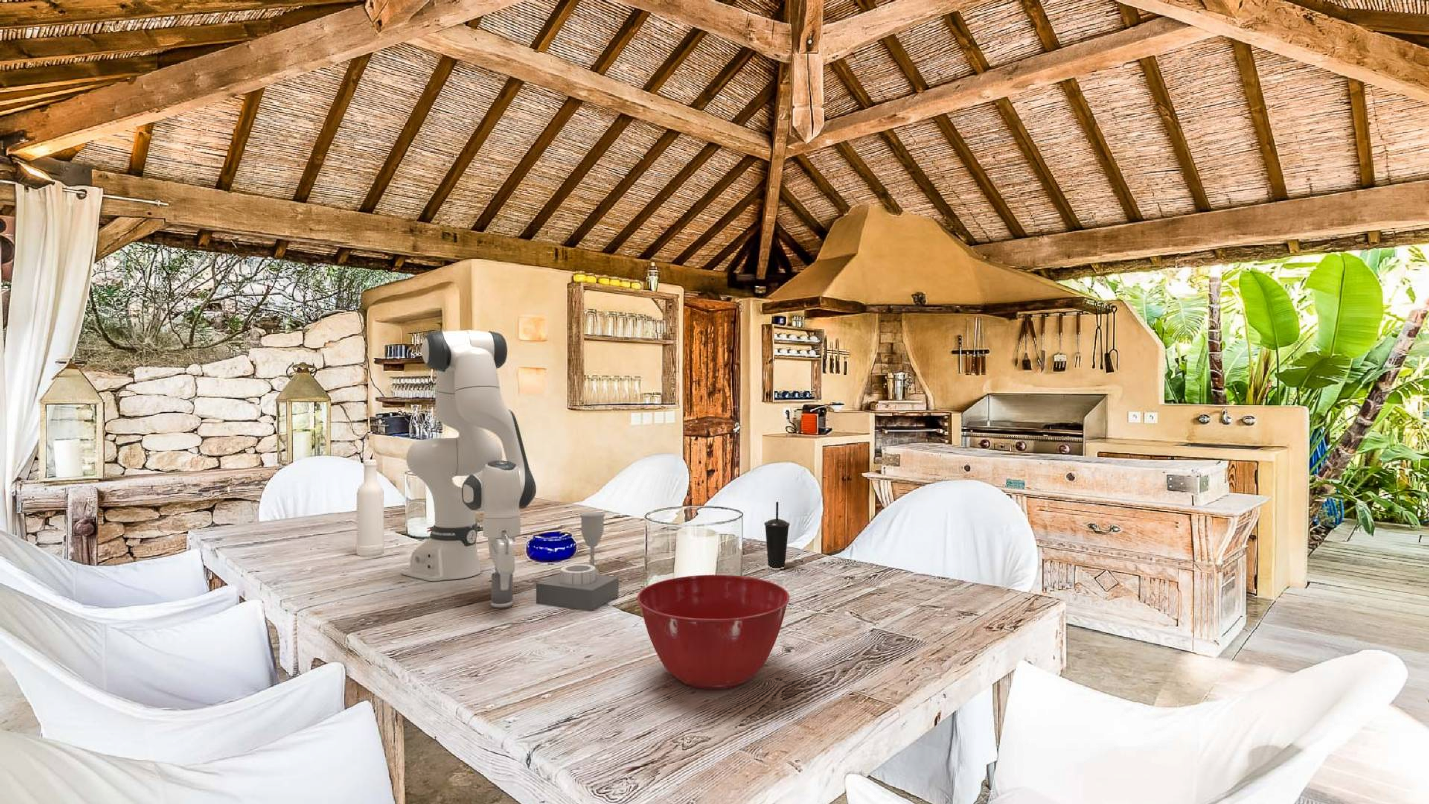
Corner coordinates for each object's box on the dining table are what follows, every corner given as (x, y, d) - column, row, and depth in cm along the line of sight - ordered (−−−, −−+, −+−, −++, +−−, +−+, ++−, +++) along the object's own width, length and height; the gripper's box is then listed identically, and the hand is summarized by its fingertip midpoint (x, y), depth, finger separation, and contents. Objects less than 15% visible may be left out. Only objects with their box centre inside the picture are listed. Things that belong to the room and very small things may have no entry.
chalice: (607, 575, 207) (608, 512, 206) (601, 581, 200) (602, 516, 200) (582, 574, 207) (583, 511, 207) (576, 580, 201) (576, 515, 200)
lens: (486, 608, 175) (486, 575, 175) (500, 602, 179) (500, 570, 179) (503, 610, 173) (504, 577, 173) (517, 605, 178) (517, 572, 177)
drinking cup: (790, 571, 212) (791, 504, 212) (764, 571, 212) (765, 503, 212) (788, 565, 220) (788, 500, 219) (763, 565, 220) (763, 499, 219)
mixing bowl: (667, 720, 117) (668, 625, 116) (618, 659, 143) (619, 581, 142) (817, 692, 128) (818, 606, 128) (746, 640, 154) (747, 568, 154)
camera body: (536, 603, 179) (536, 571, 179) (565, 589, 191) (565, 559, 191) (591, 611, 173) (592, 577, 173) (618, 596, 185) (618, 565, 185)
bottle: (350, 555, 227) (350, 460, 226) (366, 550, 235) (366, 458, 234) (373, 557, 226) (373, 461, 225) (389, 551, 234) (389, 459, 233)
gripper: (521, 534, 167) (521, 593, 167) (509, 520, 186) (509, 574, 186) (493, 536, 165) (492, 596, 165) (484, 522, 183) (484, 576, 183)
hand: (501, 584), depth 175 cm, fingers open, 8 cm apart
